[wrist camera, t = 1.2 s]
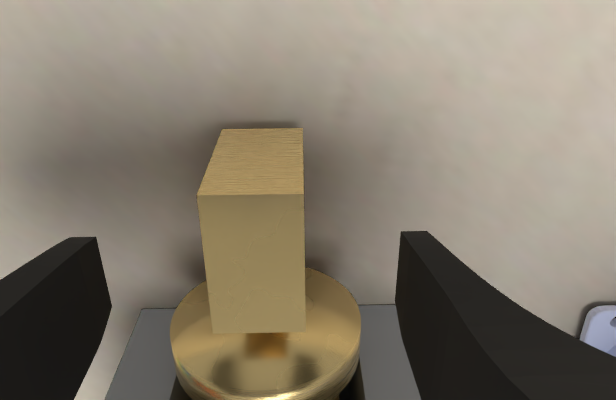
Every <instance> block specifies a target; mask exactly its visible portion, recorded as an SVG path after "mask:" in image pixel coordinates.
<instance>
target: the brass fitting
mask: <svg viewBox="0 0 616 400" xmlns="http://www.w3.org/2000/svg"><path fill="white" fill-rule="evenodd" d="M196 196H197V204H198V212H199V221H200V229H201V238H202V246H203V254H204V263H205V271H206V281H204V282H202V283H201V284H199V285H198V286H197V287H195V288H194V289H193V290H192V291H190V292H189V293H188V294H187V295H186V296H185V297H184V299H183V300H182V301H181V302H180V303H179V305H178V307H177V308H176V310H175V312H174V314H173V317H172V320H171V324H170V340H171V346H172V352H173V358H174V364H175V369H176V374H177V377H178V380H179V382H180V384H181V386H182V387H183V389H184V391H185V392H186V393H187V394H188V395H189V396H190V397H191V399H193V400H339V393H340V392H341V391H342V390H343V389H344V388H345V387H346V386H347V384H348V383H349V381H350V380H351V378H352V377H353V375H354V373H355V371H356V368H357V365H358V361H359V353H360V333H361V316H360V311H359V307H358V305H357V303H356V301H355V299H354V298H353V296H352V295H351V293H350V292H349V291H348V290H347V289H346V288H345V287H344V286H343V285H341V284H340V283H339V282H338V281H336V280H335V279H333V278H331V277H330V276H328V275H326V274H324V273H321V272H319V271H316V270H313V269H310V268H307V267H305V238H304V173H303V128H269V129H222V131H221V133H220V136H219V139H218V141H217V144H216V146H215V149H214V152H213V154H212V157H211V159H210V162H209V164H208V167H207V170H206V172H205V175H204V177H203V180H202V182H201V185H200V188H199V190H198V193H197V195H196Z"/></svg>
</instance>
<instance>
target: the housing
mask: <svg viewBox="0 0 616 400" xmlns="http://www.w3.org/2000/svg"><path fill="white" fill-rule="evenodd" d="M358 307H359V311H360V316H361V333H360V353H359V361H358V365H357V368H356V371H355V373H354V375H353V377H352V378H351V380H350V381H349V383H348V384H347V386H346V387H345V388H344V389H343V390H342V391H341V392H340V393H339V400H421V397H420V394H419V391H418V388H417V385H416V382H415V379H414V375H413V372H412V369H411V366H410V363H409V360H408V357H407V353H406V350H405V347H404V344H403V341H402V337H401V332H400V327H399V321H398V316H397V310H396V305H358ZM175 310H176V309H142V311H141V313H140V315H139V318H138V320H137V323H136V325H135V327H134V330H133V332H132V335H131V337H130V339H129V342H128V344H127V347H126V349H125V351H124V354H123V356H122V359H121V361H120V364H119V366H118V368H117V371H116V373H115V376H114V378H113V380H112V383H111V385H110V388H109V390H108V392H107V395H106V397H105V400H193V399H191V397H190V396H189V395H188V394H187V393H186V392H185V391H184V389H183V387H182V386H181V384H180V382H179V380H178V377H177V374H176V369H175V364H174V358H173V352H172V346H171V340H170V324H171V320H172V317H173V314H174V312H175Z"/></svg>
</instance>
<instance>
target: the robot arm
mask: <svg viewBox="0 0 616 400" xmlns="http://www.w3.org/2000/svg"><path fill="white" fill-rule="evenodd" d="M395 304H396V310H397V316H398V321H399V327H400V332H401V337H402V341H403V344H404V347H405V350H406V353H407V357H408V360H409V363H410V366H411V369H412V372H413V375H414V379H415V382H416V385H417V388H418V391H419V394H420V397H421V400H616V318H615V319H613V318H614V317H616V305H606V306H597V307H595V308H593V309H591V310H590V311H589V312H588V314H587V316H586V319H585V322H584V326H583V329H582V332H581V336H580V339H577V338H575V337H573V336H571V335H569V334H567V333H565V332H563V331H561V330H560V329H558V328H556V327H554V326H552V325H551V324H549V323H547V322H545V321H544V320H542V319H540V318H539V317H537V316H536V315H534V314H532V313H531V312H529V311H527V310H526V309H524V308H523V307H521V306H519V305H518V304H516V303H515V302H513V301H512V300H511V299H509V298H508V297H506V296H505V295H504V294H502V293H501V292H499V291H498V290H497V289H495V288H494V287H493V286H491V285H490V284H489V283H487V282H486V281H485V280H483V279H482V278H481V277H480V276H478V275H477V274H476V273H475V272H473V271H472V270H471V269H470V268H469V267H467V266H466V265H465V264H464V263H463V262H462V261H460V260H459V259H458V258H457V257H456V256H455V255H453V254H452V253H451V252H450V251H449V250H448V249H447V248H446V247H444V246H443V245H442V244H441V243H440V242H439V241H438V240H437V239H435V238H434V237H433V236H432V235H431V234H430V233H428V232H427V231H403V232H401V237H400V248H399V260H398V272H397V283H396V295H395ZM111 308H112V305H111V300H110V296H109V292H108V287H107V283H106V278H105V274H104V270H103V265H102V261H101V257H100V252H99V248H98V243H97V239H96V237H70V238H68V239H66V240H64V241H62V242H60V243H59V244H57V245H55V246H53V247H52V248H50V249H49V250H47V251H45V252H44V253H42V254H41V255H39V256H37V257H36V258H34V259H33V260H31V261H29V262H28V263H26V264H25V265H23V266H22V267H20V268H18V269H17V270H15V271H14V272H12V273H10V274H9V275H7V276H6V277H4V278H3V279H1V280H0V400H74V398H75V396H76V394H77V392H78V390H79V388H80V386H81V384H82V382H83V379H84V377H85V375H86V373H87V371H88V369H89V367H90V365H91V363H92V361H93V358H94V356H95V354H96V352H97V350H98V348H99V345H100V343H101V340H102V337H103V334H104V331H105V328H106V325H107V321H108V318H109V315H110V311H111ZM612 319H613V320H612Z"/></svg>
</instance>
